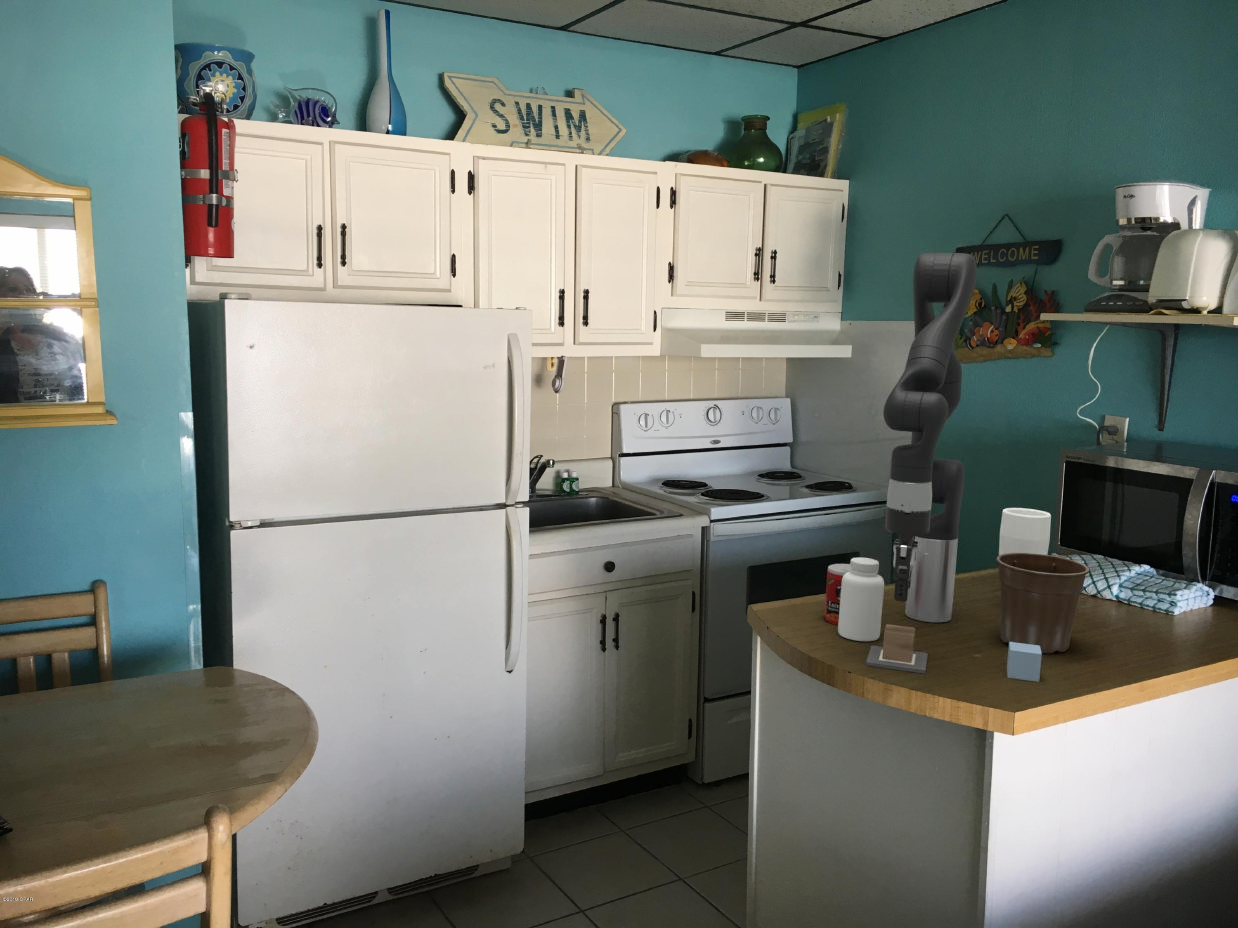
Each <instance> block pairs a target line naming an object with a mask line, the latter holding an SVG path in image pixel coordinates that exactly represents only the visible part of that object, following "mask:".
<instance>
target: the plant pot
mask: <svg viewBox="0 0 1238 928" xmlns="http://www.w3.org/2000/svg"><path fill="white" fill-rule="evenodd" d="M996 562H997V563H998V580H999V582H1000V639H1001V641H1002V642H1003V643H1005V644H1009V642H1015V643H1023V644H1031V645H1039V646H1040V649H1041V653H1042V654H1054V652H1058V653H1065V652H1066V651H1068V648H1069V647H1070V640H1071V636H1072V635H1071V634H1072V631H1073V625H1074V621H1075V616H1076V611H1077V607H1078V602H1079V599H1080V598H1079V596H1080V594H1081V592H1082V590H1083V588H1084V583H1085V579H1086V575H1087V574H1089V572H1090V568H1089V566H1087V565H1086V564H1084V563H1082V562H1078V561H1076V560H1072V559H1070V558H1065V557H1061V556H1057V555H1051V554H1050V555H1049V554H1047V555H1043V554H1033V553H1006V554H1002V555H999V554H998V556H997V557H996Z"/></svg>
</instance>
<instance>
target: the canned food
mask: <svg viewBox="0 0 1238 928" xmlns="http://www.w3.org/2000/svg"><path fill="white" fill-rule="evenodd" d="M850 571H851V570H850V563H834V564H830V565H828V566H827V573H826V589H825V604H824V606H825V607H824V617H825V620H826V622H827V623H830V624H832V625H836V626H838V623H839V611H840V598H841V586H842V578H843V576H844V574H846V573H847V572H850Z"/></svg>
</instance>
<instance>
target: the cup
mask: <svg viewBox="0 0 1238 928" xmlns="http://www.w3.org/2000/svg"><path fill="white" fill-rule="evenodd" d="M1000 521H1001V522H1000V529H999V542H998V543H999V544H998V545H999V547H998V556H999V555H1002V554H1006V553H1033V554H1043V555H1048V552H1049V545H1050V539H1051V537H1050V536H1051V526H1052V525H1051V523H1052V522H1051V521H1052V515H1051V513H1050V512H1048V511H1044V510H1038V509H1032V508H1024V507H1023V508H1022V507H1007V508H1004V509H1003V510H1002V513H1001V520H1000Z"/></svg>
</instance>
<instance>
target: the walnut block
mask: <svg viewBox="0 0 1238 928" xmlns="http://www.w3.org/2000/svg"><path fill="white" fill-rule="evenodd" d="M915 632H916V628H915V627H912V626H904V625H903V626H902V625H896V624H885V629H884V633H883V645H882V647H883V656H882V659H886V660H893V661H900V662H907V663H912V657H913V651H914V645H915V634H916V633H915Z"/></svg>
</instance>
